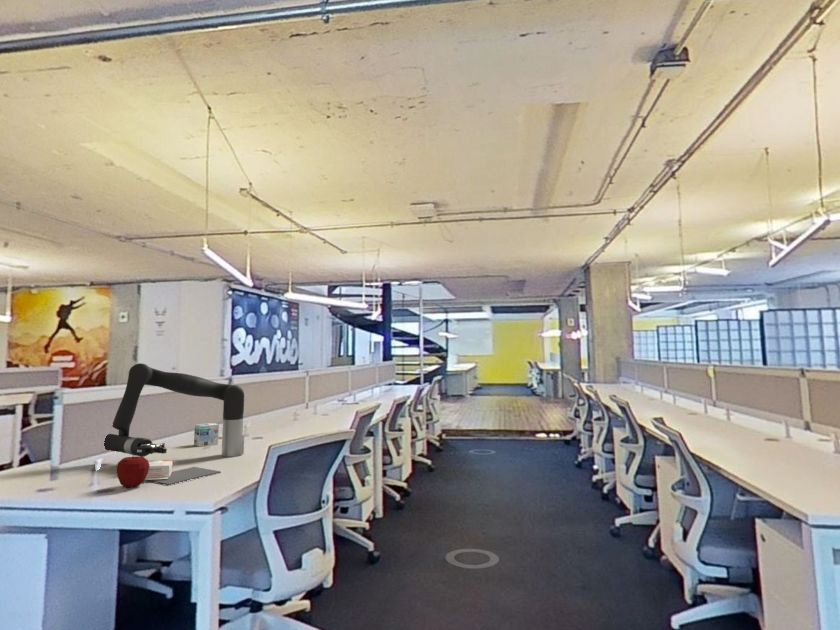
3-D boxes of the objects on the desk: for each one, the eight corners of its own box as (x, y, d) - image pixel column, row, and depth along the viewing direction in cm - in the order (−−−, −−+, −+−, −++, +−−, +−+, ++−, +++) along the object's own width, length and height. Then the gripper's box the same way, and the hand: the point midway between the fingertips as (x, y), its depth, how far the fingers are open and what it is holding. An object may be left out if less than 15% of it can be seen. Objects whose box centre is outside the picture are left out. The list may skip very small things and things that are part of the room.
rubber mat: (194, 468, 227) (194, 466, 227) (220, 472, 219) (220, 471, 219) (141, 480, 206) (141, 478, 206) (169, 485, 198) (169, 484, 198)
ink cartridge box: (173, 459, 218) (169, 466, 205) (172, 471, 218) (168, 479, 204) (150, 460, 216) (144, 468, 202) (149, 472, 215) (143, 481, 201)
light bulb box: (199, 447, 274) (199, 425, 275) (193, 445, 279) (194, 424, 280) (218, 444, 282) (219, 424, 283) (212, 442, 287) (213, 422, 288)
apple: (126, 492, 188) (127, 459, 189) (108, 488, 193) (110, 455, 194) (154, 485, 198) (156, 453, 199) (137, 481, 203) (138, 450, 204)
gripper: (123, 439, 221) (150, 443, 213) (152, 435, 232) (179, 439, 224) (122, 458, 220) (149, 462, 212) (151, 452, 232) (178, 457, 224)
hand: (164, 450), depth 218 cm, fingers closed
